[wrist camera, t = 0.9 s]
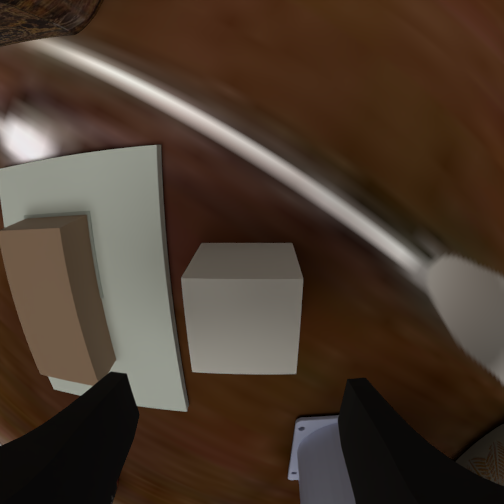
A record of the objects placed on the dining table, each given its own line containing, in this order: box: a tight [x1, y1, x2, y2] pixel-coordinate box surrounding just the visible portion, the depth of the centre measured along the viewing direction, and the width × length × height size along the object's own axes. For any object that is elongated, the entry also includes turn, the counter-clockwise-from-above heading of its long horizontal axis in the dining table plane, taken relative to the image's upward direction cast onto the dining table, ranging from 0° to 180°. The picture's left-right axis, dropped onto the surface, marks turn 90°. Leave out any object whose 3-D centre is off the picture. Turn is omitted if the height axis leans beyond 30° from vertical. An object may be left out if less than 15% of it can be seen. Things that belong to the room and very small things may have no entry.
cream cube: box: [181, 243, 303, 374], centre depth 16 cm, size 5×5×5 cm
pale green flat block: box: [0, 145, 189, 412], centre depth 17 cm, size 18×12×4 cm, turn 0°
